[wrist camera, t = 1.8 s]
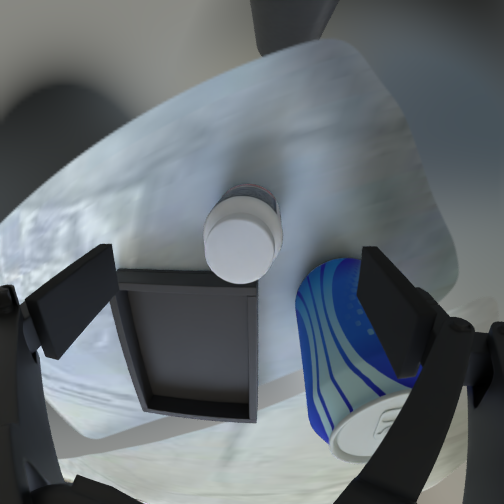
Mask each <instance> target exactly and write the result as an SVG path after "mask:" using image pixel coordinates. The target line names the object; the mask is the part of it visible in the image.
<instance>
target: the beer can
mask: <svg viewBox="0 0 504 504" xmlns="http://www.w3.org/2000/svg"><path fill="white" fill-rule="evenodd" d="M360 265H361V260H359V259H355V258H338V259H334V260H330V261H328V262H325V263H323V264H321V265H319V266H318V267H316V268H315V269H314V270H312V271H311V272H310V273H309V274H308V275H307V276H306V277H305V279H304V280H303V282H302V283H301V285H300V287H299V289H298V292H297V295H296V301H295V309H296V316H297V324H298V331H299V339H300V347H301V355H302V363H303V372H304V381H305V390H306V399H307V408H308V417H309V421H310V424H311V426H312V428H313V429H314V431H315V432H316V433H317V434H318V435H319V436H320V437H321V438H322V439H323V440H324V441H325V442H327V443H328V444H329V449H330V452H331V453H332V455H333V456H334V457H335V458H337V459H339V460H341V461H343V462H347V463H352V464H367V462H368V461H369V460H370V458H371V457H372V455H373V454H374V452H375V451H376V449H377V448H378V446H379V445H380V443H381V442H382V440H383V439H384V437H385V435H386V434H387V432H388V431H389V429H390V427H391V426H392V424H393V422H394V421H395V419H396V417H397V416H398V414H399V412H400V410H401V409H402V407H403V405H404V403H405V401H406V399H407V398H408V396H409V394H410V392H411V390H412V388H413V386H414V384H415V382H416V380H417V378H418V376H419V374H420V372H421V370H422V368H423V367H422V366H421V364H420V367H419V369H418V372H417V374H416V377H411V378H403V379H397V376H396V374H395V372H394V370H393V368H392V366H391V364H390V362H389V359H388V357H387V355H386V353H385V351H384V349H383V347H382V345H381V343H380V341H379V339H378V337H377V335H376V333H375V331H374V329H373V327H372V325H371V323H370V321H369V319H368V317H367V315H366V313H365V311H364V309H363V307H362V305H361V303H360V302H359V300H358V298H357V296H356V294H357V287H358V280H359V273H360Z"/></svg>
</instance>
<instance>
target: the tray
mask: <svg viewBox="0 0 504 504" xmlns="http://www.w3.org/2000/svg"><path fill="white" fill-rule="evenodd" d="M116 274H117V279H118V284H119V291H118V292H117V293H116V294H115V296H114V297H113V298H112V299H111V300H110V305H111V309H112V313H113V317H114V321H115V325H116V329H117V332H118V336H119V339H120V343H121V347H122V350H123V353H124V357H125V360H126V363H127V366H128V369H129V373H130V376H131V379H132V382H133V385H134V387H135V390H136V393H137V396H138V399H139V402H140V404H141V407H142V409H143V411H144V412H149V413H155V414H162V415H168V416H175V417H184V418H191V419H200V420H211V421H222V422H238V423H257V407H258V280H256V281H253V282H250V283H246V284H235V283H231V282H228V281H225V280H223V279H221V278H220V277H218V276H217V275H216V274H215V273H214V272H211V271H173V270H141V269H118V270H117V271H116Z"/></svg>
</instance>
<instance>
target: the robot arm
mask: <svg viewBox="0 0 504 504" xmlns="http://www.w3.org/2000/svg"><path fill="white" fill-rule="evenodd" d="M118 291H119V284H118V279H117V274H116V268H115V262H114V256H113V250H112V244H100V245H98V246H97V247H95V248H94V249H92V250H91V251H89V252H88V253H86V254H85V255H84V256H82V257H81V258H79V259H78V260H76V261H75V262H74V263H72V264H71V265H69V266H68V267H67V268H65V269H64V270H63V271H61V272H60V273H58V274H57V275H56V276H54V277H53V278H52V279H50V280H49V281H48V282H46V283H45V284H44V285H42V286H41V287H40V288H38V289H37V290H36V291H35V292H33V293H32V294H31V295H29V296H28V297H27V298H26V299H25V301H24V302H23V303H22V304H21V305H20V304H19V301H18V298H17V295H16V292H15V288H14V286H13V285H3V286H0V504H144V503H142V502H140V501H138V500H136V499H134V498H132V497H130V496H128V495H126V494H125V493H123V492H121V491H119V490H117V489H116V488H114V487H112V486H109V485H106V484H103V483H100V482H97V481H94V480H91V479H88V478H85V477H83V476H80V475H76V477H75V480H74V482H73V483H65V481H64V479H63V476H62V473H61V470H60V466H59V463H58V459H57V456H56V452H55V448H54V444H53V440H52V435H51V431H50V426H49V421H48V416H47V411H46V405H45V398H44V391H43V384H42V376H41V367H40V357H39V355H38V352H37V349H38V348H39V347H40V346H42V349H43V351H44V354H45V356H46V357H49V358H52V359H56V360H59V359H60V358H61V356H62V355H63V354H64V353H65V352H66V350H67V349H68V348H69V347H70V346H71V344H72V343H73V342H74V341H75V340H76V339H77V337H78V336H79V335H80V334H81V333H82V332H83V330H84V329H85V328H86V327H87V326H88V325H89V323H90V322H91V321H92V320H93V319H94V318H95V317H96V315H97V314H98V313H99V312H100V311H101V310H102V309H103V308H104V307H105V305H106V304H107V303H108V302H109V301H110V300H111V299H112V298H113V297H114V296H115V294H116V293H117V292H118ZM356 296H357V298H358V300H359V302H360V303H361V305H362V307H363V309H364V311H365V313H366V315H367V317H368V319H369V321H370V323H371V325H372V327H373V329H374V331H375V333H376V335H377V337H378V339H379V341H380V343H381V345H382V347H383V349H384V351H385V353H386V355H387V357H388V359H389V362H390V364H391V366H392V368H393V370H394V372H395V374H396V376H397V379H403V378H411V377H416V374H417V372H418V369H419V367H420V364H421V366H422V367H423V368H422V370H421V372H420V374H419V376H418V378H417V380H416V382H415V384H414V386H413V388H412V390H411V392H410V394H409V396H408V398H407V399H406V401H405V403H404V405H403V407H402V409H401V410H400V412H399V414H398V416H397V417H396V419H395V421H394V422H393V424H392V426H391V427H390V429H389V431H388V432H387V434H386V435H385V437H384V439H383V440H382V442H381V443H380V445H379V446H378V448H377V449H376V451H375V452H374V454H373V455H372V457H371V458H370V460H369V461H368V462H367V464H366V465H365V467H364V468H363V469H362V471H361V472H360V473H359V475H358V476H357V477H356V478H354V479H353V480H352V481H351V483H350V484H349V485H348V486H347V487H346V489H345V490H344V491H343V492H342V494H341V495H340V496H339V497H338V498H337V500H336V501H335V502H334V503H333V504H417V503H416V502H417V499H418V497H419V495H420V493H421V491H422V489H423V487H424V485H425V483H426V481H427V479H428V477H429V475H430V473H431V471H432V469H433V466H434V464H435V462H436V460H437V457H438V455H439V453H440V450H441V448H442V445H443V443H444V440H445V438H446V435H447V432H448V430H449V427H450V424H451V421H452V418H453V415H454V412H455V409H456V406H457V403H458V400H459V397H460V393H461V390H462V386H467V396H468V454H467V469H466V480H465V489H464V497H463V504H504V322H494V323H493V324H492V325H491V328H490V330H489V333H481V332H475V329H474V327H473V325H472V324H471V323H469V322H468V321H466V320H464V319H462V318H458V317H450V316H449V315H448V314H447V313H446V312H445V311H444V310H443V308H442V307H441V306H440V305H438V303H437V302H436V301H435V300H434V298H433V297H432V296H431V295H430V294H429V293H428V292H426V291H424V290H423V289H421V288H419V287H417V288H415V287H414V286H413V285H412V284H411V282H410V281H409V280H408V279H407V278H406V277H405V276H404V275H403V274H402V273H401V272H400V271H399V269H398V268H397V267H396V266H395V265H394V264H393V263H392V262H391V261H390V260H389V259H388V258H387V257H386V256H385V255H384V254H383V253H382V252H381V251H380V250H379V249H378V247H371V246H363V249H362V257H361V265H360V273H359V280H358V287H357V294H356Z"/></svg>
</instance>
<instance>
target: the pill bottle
mask: <svg viewBox="0 0 504 504" xmlns="http://www.w3.org/2000/svg"><path fill="white" fill-rule="evenodd" d="M203 239H204V244H205V257H206V261H207V263H208V265H209V267H210V268H211V270H212V271H213V272H214V273H215V274H216V275H217V276H218V277H220V278H221V279H223V280H225V281H228V282H231V283H235V284H246V283H250V282H253V281H256V280H258V279H259V278H261V277H262V276H263V275H265V274H266V272H267V271H268V270H269V269H270V267H271V265H272V263H273V261H274V260H275V259H276V257H277V256H278V254H279V252H280V250H281V247H282V243H283V229H282V225H281V215H280V209H279V205H278V203H277V201H276V199H275V197H274V196H273V195H272V194H271V193H270V192H269V191H268V190H267V189H265V188H263V187H261V186H259V185H255V184H242V185H238V186H235V187H233V188H231V189H230V190H229V191H227V192H226V193H225V194H224V195H223V196H222V198H221V199H220V200H219V201H218V203H217V204H216V205H215V207H214V208H213V209H212V210H211V212H210V213H209V215H208V217H207V219H206V221H205V225H204V230H203Z"/></svg>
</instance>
